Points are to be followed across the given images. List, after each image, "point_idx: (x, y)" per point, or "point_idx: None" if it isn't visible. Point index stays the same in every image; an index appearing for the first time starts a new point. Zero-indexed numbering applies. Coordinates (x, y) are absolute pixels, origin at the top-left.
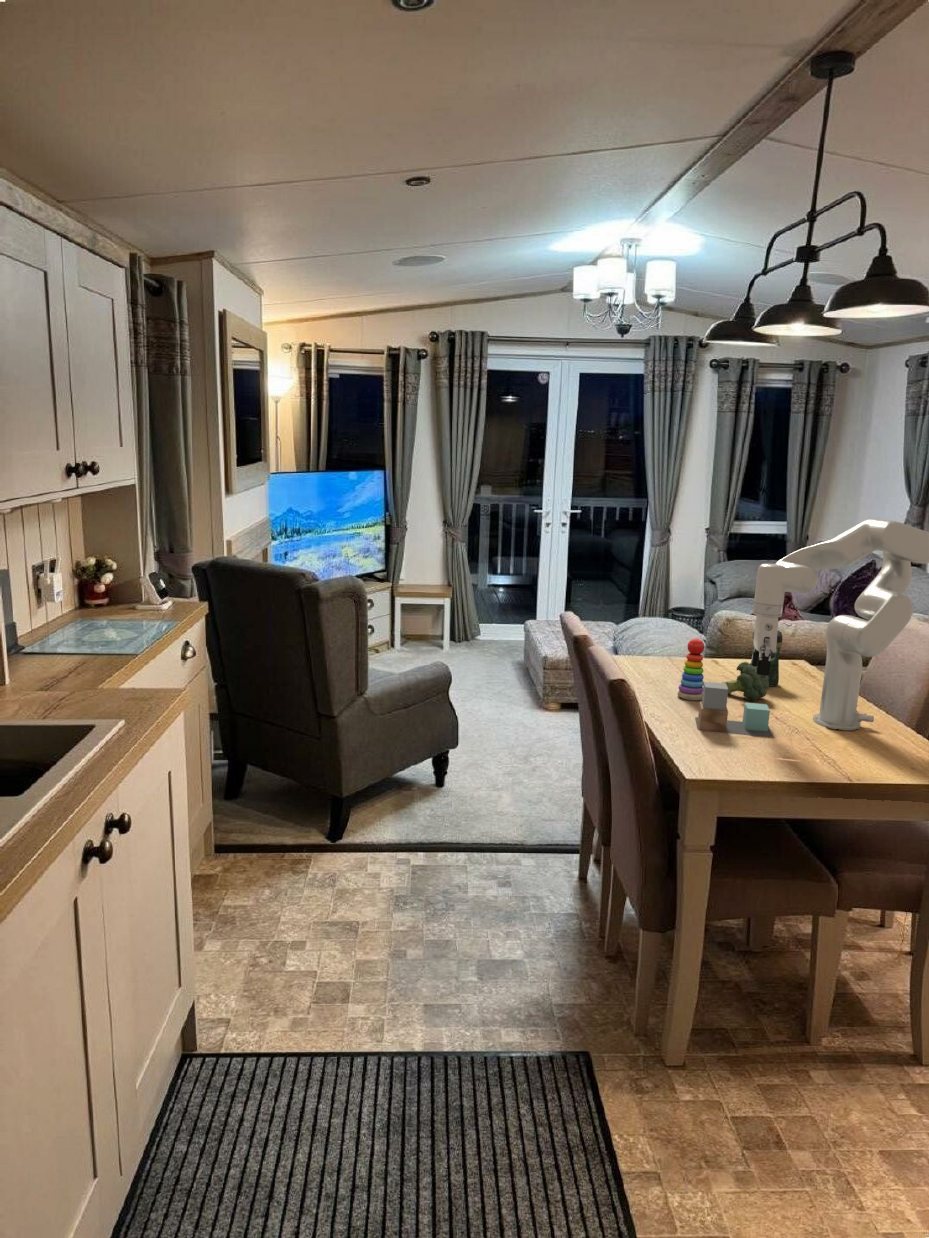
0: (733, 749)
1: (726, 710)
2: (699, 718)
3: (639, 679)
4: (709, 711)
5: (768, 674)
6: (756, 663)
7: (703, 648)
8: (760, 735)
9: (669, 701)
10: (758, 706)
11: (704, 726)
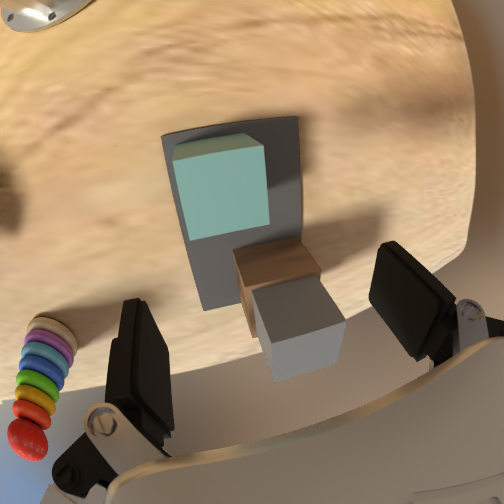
0: (387, 210)
1: (314, 273)
2: None
3: None
4: None
5: (395, 243)
6: (161, 349)
7: (21, 432)
8: (292, 153)
9: None
10: (223, 189)
11: None
